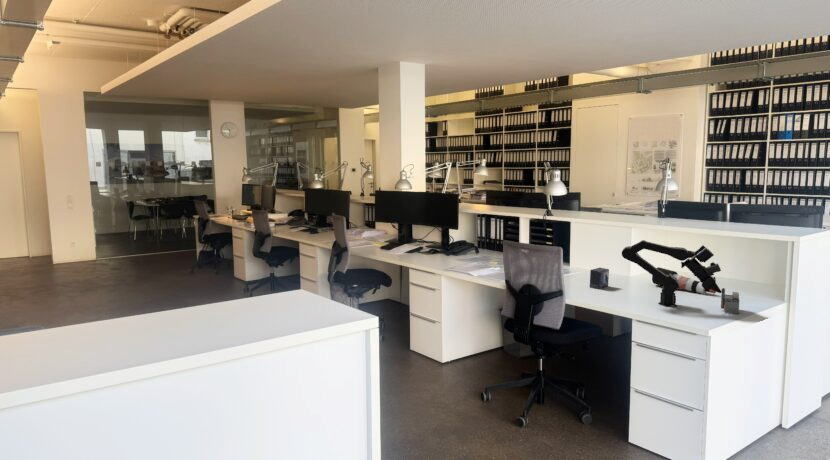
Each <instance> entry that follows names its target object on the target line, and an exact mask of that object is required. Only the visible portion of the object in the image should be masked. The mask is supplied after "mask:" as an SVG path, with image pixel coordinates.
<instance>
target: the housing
mask: <svg viewBox="0 0 830 460" xmlns="http://www.w3.org/2000/svg"><path fill="white" fill-rule="evenodd" d="M739 293H740V292H738V291H732V294H725V311H724V314H730V315H731V314H732V315H739V314H740V313H739V311H740V294H739Z"/></svg>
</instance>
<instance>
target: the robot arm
mask: <svg viewBox="0 0 830 460" xmlns="http://www.w3.org/2000/svg"><path fill="white" fill-rule="evenodd" d="M642 250H646V251H651V252H656V253H660V254H662V255H663V254H664V255H667V256H670V257H672V259H673V258H674V259H676V260H678V261H681V262H680V264H681V267H680V268H681V269H683V268H684V267H686V268H687V269H688V270H689V271H690V272H691V273H692V274H693V276H694V277H696V278H697V279H698V280H699V282H701V283H702V287H703V288H704V289H706V288H709V289H711V290H714V291H716V293H718V294H722V289H721V288H720V287H719V285H718V283H717V282H716V281H717V280H716V279H717V278H716V277H715V276H714V275H715V273H717V272H718V273H719V272H721V271H722V270H721V267H720V265H719V263H715V262H714V261H712V262H710V264H709V265H708V266H707V267H706V266H705V265H702V264H701V263H706V262H707V261H709V260H710V259H711V258H713V257H714V256H715V255H714V253H713V252H712V251H711V250H710V249H709V248H707V247H706V246H705V245H703V244H702V245H701V246H700V247H699V248H698V249H697V250H696V251H693V250H688V249H687V248H685V247H677V246H667V245H663V244H659V243H655V242H651V241H648V240H645V239H643V240H641V241H639V242H637V243H635V244H633V245H631V246H625V247H624V248H623V249H622V251H621V256H622V258H623V259H625V260H628V261H630V262H632V263H634V264H636V265H637V266H639V267H641V268H642V269H643V270H645V271H646V272H647V273H649V274H650V275H651V276H652V275H653V276H654V277H656V278H657V279H658V280H660V282H661V283H662V284H663V285H664V286H661V292H660V298H659V299H660V300H659V302H657V303H658V305H661V306H663V307H677V306H678V304H677V303H676V302H677V296H676V291H678V290H679V289H680V288H679V281H678V280H677V278H676V277H674V276H673V275H672V274H669V275H666V274H664V273H663V272H661V271H660V270H658V269H657V268H658V267H655V266H654V265H653V264H651V263H650V262H649V261H647V260H646V259H644V258H643V257H642V256H641V255H640V254H639V253H638V252H641V251H642Z"/></svg>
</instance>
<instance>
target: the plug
mask: <svg viewBox="0 0 830 460" xmlns="http://www.w3.org/2000/svg"><path fill="white" fill-rule="evenodd" d="M721 291H722V292H721V297H720V299H721V300H720V309H722V310H723V311H724V312H725V295H726V288H724V287H722V288H721Z"/></svg>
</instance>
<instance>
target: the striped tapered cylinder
mask: <svg viewBox="0 0 830 460" xmlns="http://www.w3.org/2000/svg"><path fill="white" fill-rule="evenodd" d="M656 268H657V269H658V270H660V271H661V272H663V273H664V274H666V275H669V274H672V275H673V276H674V277H676V278H677V280H678V281H679V288H678V289H681V290H683V291H684V290H685V291H689V292H693V293H698V294H701V295H706V294H707V293H710V294H711V293H712V294H716V293H717V292H716V291H714V290H711V289H709V288H706V289H704V288H703V287H702V283H701V282H700V280H699V281H698V280H695V279H692V278H690V277H686V276H683V275H679V274H678V272H676V271H674V270H670V269H666V268H662V267H660V266H658V267H656ZM651 281H652V283H653V284H654V285H657V286H661V287H663V286H664V285H663V284H662V283H661V282H660V280H658V279H657V278H656V277H654V276H653V275H651Z"/></svg>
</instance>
